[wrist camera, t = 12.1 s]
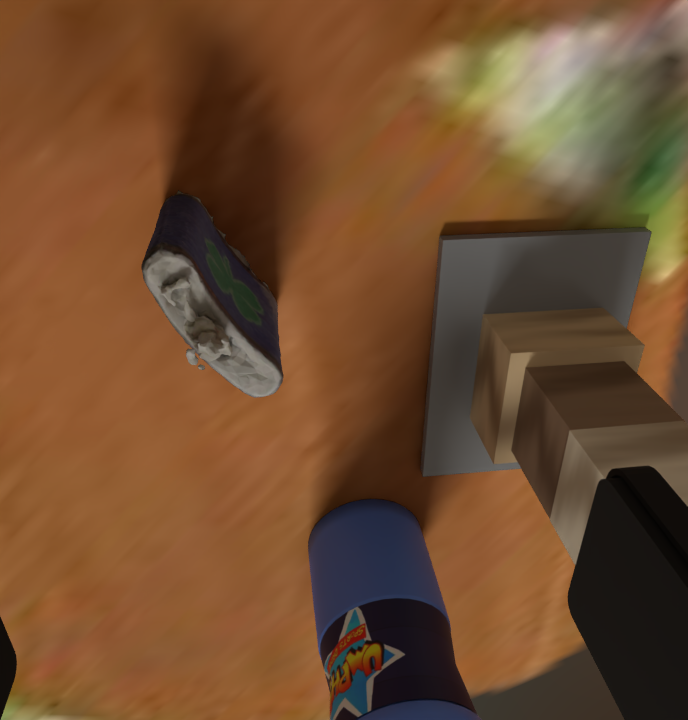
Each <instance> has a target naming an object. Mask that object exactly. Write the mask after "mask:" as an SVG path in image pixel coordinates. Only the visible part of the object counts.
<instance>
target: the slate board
mask: <svg viewBox="0 0 688 720" xmlns="http://www.w3.org/2000/svg"><path fill="white" fill-rule="evenodd" d="M651 232H652V231H650V230H648V229H647V228H645V227H639V228H615V229H591V230H566V231H542V232H518V233H493V234H469V235H445V236H440V237H439V249H438V261H437V273H436V286H435V298H434V310H433V322H432V334H431V346H430V358H429V370H428V383H427V395H426V407H425V419H424V431H423V443H422V455H421V467H420V470H421V473H422V476H423V477H426V476H437V475H449V474H461V473H473V472H485V471H497V470H509V469H521V467H520V465H519V464H518V462H514V463H502V464H493V462H492V460H491V458H490V456H489V454H488V452H487V450H486V449H485V447H484V445H483V443H482V441H481V439H480V437H479V435H478V433H477V431H476V429H475V427H474V425H473V423H472V421H471V419H470V412H471V405H472V397H473V389H474V381H475V373H476V365H477V357H478V350H479V342H480V334H481V326H482V318H483V314H498V313H516V312H534V311H552V310H570V309H588V308H604V309H605V310H606V311H607V312H608V313H610V314H611V315H612V316H613V317H614V318H615V319H616V320H617V321H618V322H620V323H621V324H622V325H623V326H624V327H625V328H626V329H627V325H628V321H629V317H630V313H631V309H632V305H633V301H634V298H635V294H636V290H637V286H638V282H639V278H640V274H641V271H642V267H643V263H644V259H645V255H646V251H647V247H648V244H649V240H650V236H651Z"/></svg>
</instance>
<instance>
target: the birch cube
mask: <svg viewBox="0 0 688 720" xmlns="http://www.w3.org/2000/svg"><path fill="white" fill-rule="evenodd" d="M636 466H651V467H653V468H655V469H656V470H657V471H658V472H659V473H660V474H661V476H662V477H663V478H664V479H665V480H666V481H667V483H668V484H669V485H670V486H671V487H672V489H673V490H674V491H675V492H676V493H677V494H678V496H679V497H680V498H681V499H682V500H683V502H684V503H685V504H686V505H687V506H688V424H687V423H686V422H685V421H674V422H662V423H650V424H638V425H626V426H614V427H602V428H590V429H578V430H570V431H569V435H568V440H567V444H566V449H565V453H564V458H563V462H562V467H561V472H560V476H559V481H558V485H557V490H556V494H555V499H554V503H553V508H552V512H551V517H550V521H551V523H552V525H553V526H554V528H555V530H556V532H557V534H558V535H559V537H560V539H561V541H562V542H563V544H564V546H565V548H566V549H567V551H568V553H569V555H570V557H571V558H572V560H573V562H574V564H575V565H576V562H577V558H578V554H579V551H580V547H581V543H582V540H583V536H584V532H585V529H586V525H587V521H588V518H589V514H590V510H591V506H592V503H593V499H594V495H595V492H596V488H597V485H598V482H599V481H600V480H601V479H606V477H607V475H608V472H609V471H610V470H611V469H615V468H625V467H636Z"/></svg>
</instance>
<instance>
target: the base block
mask: <svg viewBox="0 0 688 720" xmlns="http://www.w3.org/2000/svg"><path fill="white" fill-rule="evenodd" d="M644 346H645V345H644V344H643V343H642V342H641V341H640V340H638V339H637V338H636V337H635V336H634V335H633V334H632V333H631V332H630V331H628V330H627V329H626V328H625V327H624V326H623V325H622V324H621V323H620V322H618V321H617V320H616V319H615V318H614V317H613V316H612V315H611V314H610V313H608V312H607V311H606V310H605V309H604V308H588V309H570V310H552V311H534V312H516V313H498V314H483V318H482V326H481V334H480V342H479V350H478V357H477V365H476V373H475V381H474V389H473V397H472V405H471V412H470V419H471V421H472V423H473V425H474V427H475V429H476V431H477V433H478V435H479V437H480V439H481V441H482V443H483V445H484V447H485V449H486V450H487V452H488V454H489V456H490V458H491V460H492V462H493V464H502V463H514V462H517V460H516V458H515V456H514V455H513V453H512V451H511V448H512V442H513V436H514V431H515V425H516V419H517V413H518V408H519V402H520V396H521V390H522V385H523V379H524V373H525V368H527V367H542V366H557V365H573V364H588V363H603V362H618V361H625V362H626V363H627V364H628V365H629V366H630V367H631V368H632V369H633V370H634V371H635V372H636V373H637V371H638V367H639V363H640V360H641V356H642V353H643V349H644Z"/></svg>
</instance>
